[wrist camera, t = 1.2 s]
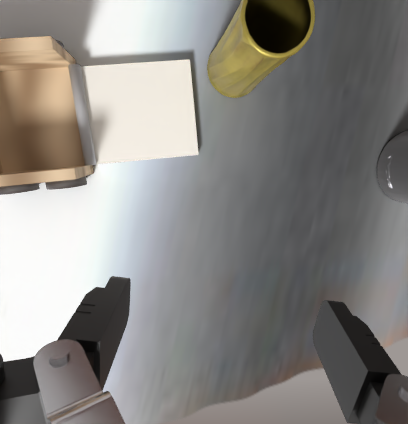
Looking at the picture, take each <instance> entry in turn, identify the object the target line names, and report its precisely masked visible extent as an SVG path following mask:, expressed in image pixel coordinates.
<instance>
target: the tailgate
mask: <svg viewBox="0 0 408 424" xmlns="http://www.w3.org/2000/svg"><path fill="white" fill-rule="evenodd" d="M68 69H69V75H70V80H71V86H72V92H73V98H74V104H75V110H76V116H77V122H78V128H79V134H80V139H81V145H82V151H83V157H84V163H85V166H87V165H96V164H105V163H116V162H127V161H137V160H148V159H159V158H169V157H180V156H191V155H198V144H197V133H196V122H195V111H194V100H193V89H192V78H191V67H190V59H189V60H173V61H158V62H142V63H126V64H111V65H95V66H81V65H78V64H70V65H68Z"/></svg>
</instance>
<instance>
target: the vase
mask: <svg viewBox="0 0 408 424" xmlns="http://www.w3.org/2000/svg"><path fill="white" fill-rule="evenodd" d="M314 22H315V10H314V3H313V0H241V3H240V5H239V7H238V9H237V11H236V12H235V15H234V17H233V18H232V20H231V22H230V24H229V26H228V28H227V30H226V31H225V33H224V35H223V36H222V38H221V40H220V41H219V43H218V44H217V46H216V47H215V49H214V50H213V51H212V53H211V54H210V56H209V60H208V65H207V70H208V76H209V80H210V82H211V84H212V85H213V87H214V88H215V89H216V90H217V91H218V92H220V93H221V94H222V95H225V96H228V97H233V98H237V97H242V96H244V95H247V94H248V93H250V92H251V91H252V90H253V89H254V88H255V87H256V85H257V84H258V83H260V82H261V81H262V80H263V79H264V78H265V77H266V76H267V75H268V74H269V73H270V72H272V71H273V70H274V69H275V68H276V67H278V66H279V65H281V64H282V63H283V62H285V61H286V60H287V59H288V58H289V57H290V56H292V55H294V54H295V53H297V52H298V51H299V50H300V49H301V48H302V47H303V46H304V44H305V43H306V42H307V41H308V39H309V37H310V35H311V33H312V30H313V27H314Z"/></svg>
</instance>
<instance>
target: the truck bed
mask: <svg viewBox="0 0 408 424" xmlns="http://www.w3.org/2000/svg"><path fill="white" fill-rule="evenodd" d="M70 64H76V61H75V59H74V58H73V57H72V56H71V55H70V54H69V53H68V52H67V51H66V50H65V49H64V46H63V44H62V43H61V42H60V41H57V40H54V39H53V38H52V37H51V36H44V37H25V38H7V39H0V195H1V194H13V193H21V192H27V191H33V190H37V189H40V188H39V183H43V182H45V183H46V188H47V189H63V188H71V187H77V186H82V185H86V184H87V181H86V176H87V175H90V174H93V173H94V171H93V165H87V166H85V163H84V157H83V151H82V145H81V139H80V134H79V128H78V122H77V116H76V110H75V104H74V98H73V92H72V86H71V80H70V75H69V69H68V65H70Z"/></svg>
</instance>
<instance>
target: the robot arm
mask: <svg viewBox="0 0 408 424" xmlns="http://www.w3.org/2000/svg"><path fill="white" fill-rule="evenodd" d="M377 178H378V181H379V185H380V187H381V188H382V190H383V192H384V193H385V194H386V195H387V196H388V197H390V198H391V199H393V200H396V201H399V202H403V203H407V204H408V131H405V132H402V133H400V134H398V135H396V136H395V137H394V138H393V139H391V140H390V141H389V142H388V144H387V145H386V146H385V147H384V149H383V151H382V153H381V155H380V158H379V161H378V166H377ZM129 306H130V278H123V277H114V276H112V277H111V278H110V279H109V281H108V283H107V285H106V287H105V288H99V287H96V288H94V289H93V290H92V291H90V292H89V293H87V294H86V295H85V297H84V299H83V300H82V302H81V303H80V305H79V306H78V308H77V310H76V312H75V313H74V314H73V316H72V318H71V319H70V321H69V322H68V324H67V326H66V327H65V329H64V330H63V332H62V333H61V335H60V337H59V338H58V340H57V341H54V342H51V343H49V344H47V345H45V346H44V347H43V348H41V349H40V350H39V351H38V352H37V354H36V355H35V356H34V357H31V358H26V359H20V360H13V361H7V362H3V358H2V356H1V354H0V424H125V422H124V420H123V418H122V416H121V414H120V412H119V410H118V407H117V405H116V403H115V401H114V399H113V397H112V395H111V394H110V392H108V391H106V392H104V393H103V391H102V390H103V388H104V385H105V382H106V380H107V377H108V374H109V371H110V369H111V366H112V363H113V360H114V358H115V355H116V352H117V349H118V347H119V344H120V341H121V339H122V336H123V333H124V330H125V328H126V325H127V321H128V316H129ZM313 342H314V346H315V349H316V351H317V353H318V356H319V358H320V360H321V363H322V365H323V367H324V370H325V372H326V374H327V377H328V379H329V381H330V384H331V386H332V388H333V391H334V393H335V396H336V398H337V400H338V403H339V405H340V407H341V410H342V412H343V414H344V417H345V419H346V421H347V423H352V424H408V377H407V376H404V375H401V373H400V372H399V370H398V369H397V367H396V366H395V364H394V363H393V362H392V360H391V359H390V357H389V356H388V354H387V353H386V352H385V350H384V349H383V347H382V346H380V343H379V342H378V340H377V339H376V338H375V337H374V334H373V333H372V331H371V330H370V329H369V327H368V326H367V325H366V324H365V323H364V322H363V321H361V320H360V319H359V318H358V317H357V316H353V315H352V314H351V312H350V311H349V309H348V308H347V306H346V305H345V304H344V303H343V302H336V301H327V300H324V301H323V302H322V304H321V306H320V310H319V313H318V316H317V320H316V323H315V326H314V330H313Z"/></svg>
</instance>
